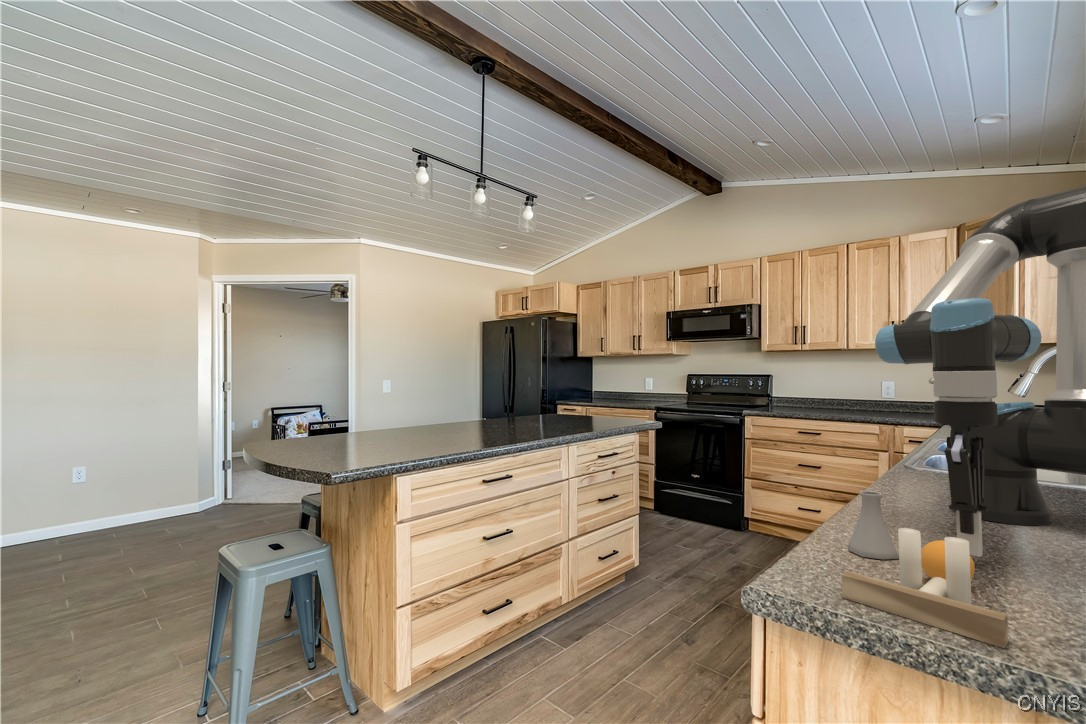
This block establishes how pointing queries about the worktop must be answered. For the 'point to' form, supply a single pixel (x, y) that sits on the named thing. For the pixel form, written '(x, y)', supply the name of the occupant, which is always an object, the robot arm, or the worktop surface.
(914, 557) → the pin
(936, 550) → the ball
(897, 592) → the back wall
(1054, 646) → the worktop surface
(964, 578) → the pin
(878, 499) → the flask
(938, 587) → the pin front
